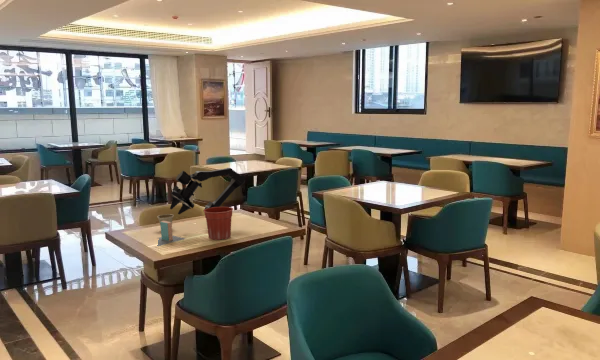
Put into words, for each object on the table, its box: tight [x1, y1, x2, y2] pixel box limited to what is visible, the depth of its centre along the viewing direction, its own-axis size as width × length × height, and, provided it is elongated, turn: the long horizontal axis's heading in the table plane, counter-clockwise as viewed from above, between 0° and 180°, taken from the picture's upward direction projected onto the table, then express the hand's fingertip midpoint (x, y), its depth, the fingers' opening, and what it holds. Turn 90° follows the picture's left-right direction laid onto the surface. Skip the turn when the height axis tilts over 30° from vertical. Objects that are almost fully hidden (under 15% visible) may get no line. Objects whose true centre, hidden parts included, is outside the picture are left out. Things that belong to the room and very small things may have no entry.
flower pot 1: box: [157, 213, 174, 228], centre depth 298 cm, size 9×9×9 cm
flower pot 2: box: [203, 206, 234, 241], centre depth 276 cm, size 16×16×16 cm
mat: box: [157, 234, 186, 247], centre depth 272 cm, size 20×15×1 cm
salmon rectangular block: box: [159, 221, 174, 241], centre depth 274 cm, size 3×7×10 cm, turn 50°
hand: (174, 211), depth 287 cm, fingers open, 9 cm apart
